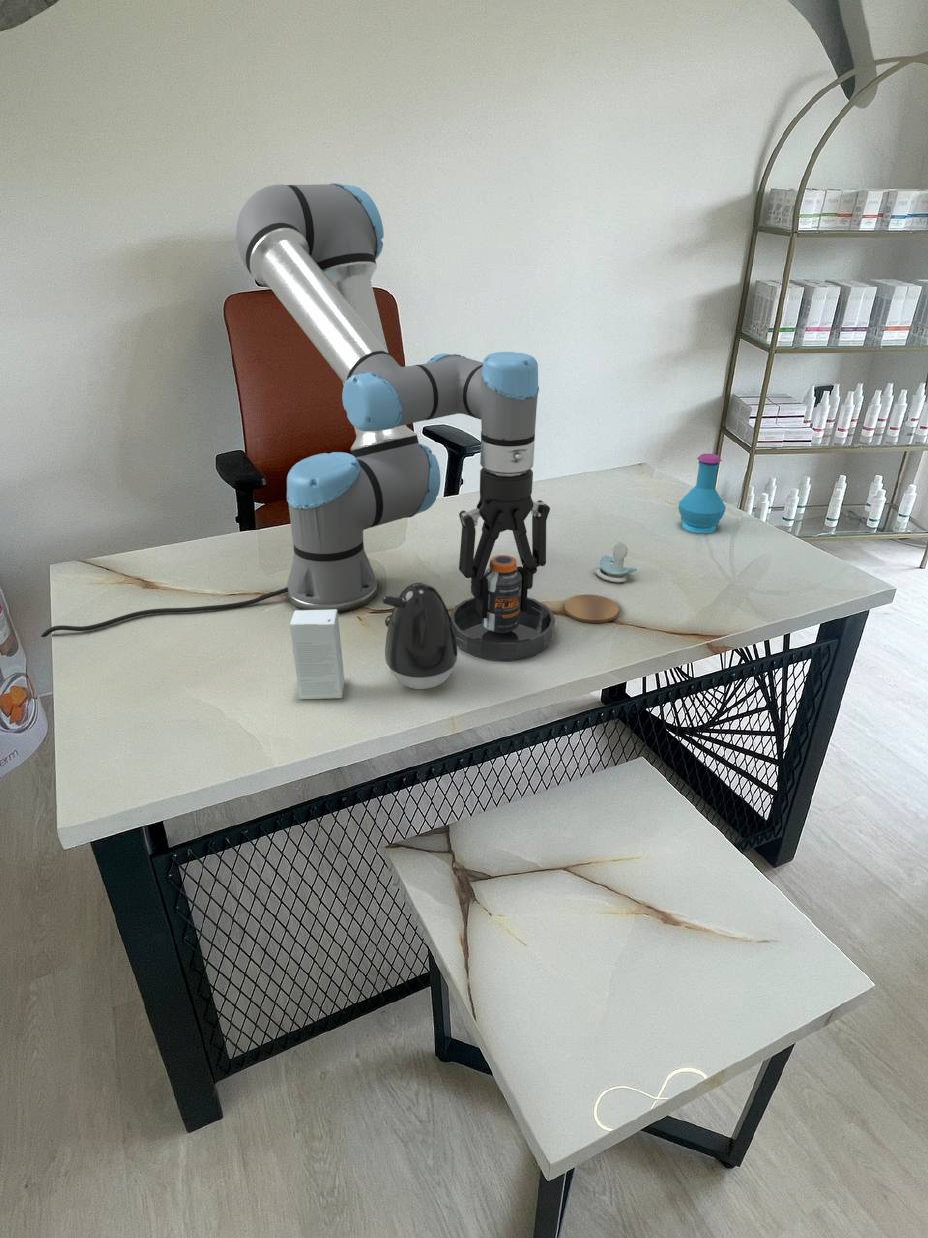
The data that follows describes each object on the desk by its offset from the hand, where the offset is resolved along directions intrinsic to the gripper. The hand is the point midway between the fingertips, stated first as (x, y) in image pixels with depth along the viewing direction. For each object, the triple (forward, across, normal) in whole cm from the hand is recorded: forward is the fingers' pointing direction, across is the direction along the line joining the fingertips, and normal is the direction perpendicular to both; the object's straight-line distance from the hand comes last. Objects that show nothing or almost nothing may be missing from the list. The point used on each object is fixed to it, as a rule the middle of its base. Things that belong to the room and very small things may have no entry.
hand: (501, 610), depth 125 cm
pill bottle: (+3, 0, 0) cm, 3 cm away
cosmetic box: (+4, -30, -6) cm, 31 cm away
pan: (+4, 0, 0) cm, 4 cm away
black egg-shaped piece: (+4, -16, -8) cm, 18 cm away
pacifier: (+4, +27, +12) cm, 30 cm away
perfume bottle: (+4, +55, +26) cm, 61 cm away
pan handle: (+3, -12, +4) cm, 13 cm away
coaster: (+4, +17, +2) cm, 18 cm away
